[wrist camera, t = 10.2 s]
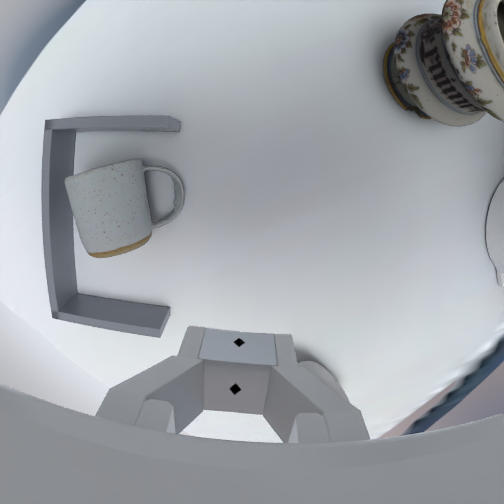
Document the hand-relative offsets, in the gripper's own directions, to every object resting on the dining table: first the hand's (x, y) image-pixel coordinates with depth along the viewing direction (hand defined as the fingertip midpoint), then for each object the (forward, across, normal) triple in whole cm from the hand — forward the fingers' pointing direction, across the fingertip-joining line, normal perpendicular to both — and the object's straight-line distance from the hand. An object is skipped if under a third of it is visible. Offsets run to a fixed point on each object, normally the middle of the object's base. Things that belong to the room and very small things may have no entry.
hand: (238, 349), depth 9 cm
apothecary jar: (+25, -18, -17) cm, 35 cm away
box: (+24, +14, +2) cm, 27 cm away
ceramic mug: (+24, +12, 0) cm, 27 cm away
